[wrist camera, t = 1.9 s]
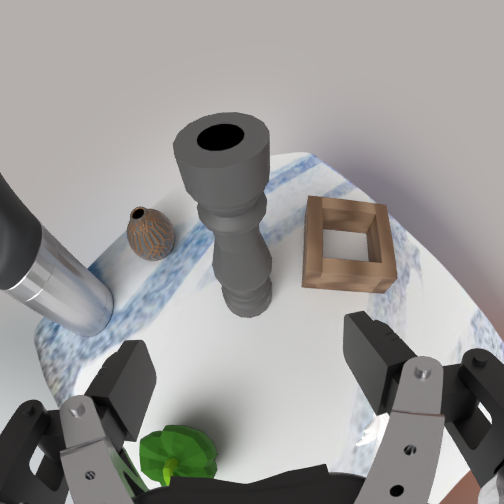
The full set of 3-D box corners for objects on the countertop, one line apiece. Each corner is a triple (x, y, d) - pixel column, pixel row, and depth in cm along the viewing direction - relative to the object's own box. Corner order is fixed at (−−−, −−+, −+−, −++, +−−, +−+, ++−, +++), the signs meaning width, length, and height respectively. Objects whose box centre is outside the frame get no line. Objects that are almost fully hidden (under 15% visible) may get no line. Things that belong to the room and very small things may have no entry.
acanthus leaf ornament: (412, 397, 28) (419, 396, 26) (403, 444, 24) (410, 446, 23) (364, 395, 29) (370, 395, 27) (354, 445, 26) (359, 447, 24)
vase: (162, 275, 39) (138, 243, 31) (131, 255, 41) (106, 223, 33) (188, 239, 42) (172, 202, 34) (156, 223, 44) (137, 188, 36)
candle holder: (276, 281, 37) (284, 115, 16) (263, 323, 34) (256, 180, 13) (233, 270, 38) (196, 108, 17) (218, 310, 35) (149, 165, 14)
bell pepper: (160, 416, 28) (123, 420, 20) (224, 424, 28) (207, 435, 19) (159, 473, 24) (124, 492, 15) (223, 483, 24) (207, 512, 15)
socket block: (301, 287, 37) (306, 270, 32) (305, 216, 42) (308, 195, 38) (383, 293, 35) (397, 278, 31) (376, 224, 41) (386, 205, 37)
